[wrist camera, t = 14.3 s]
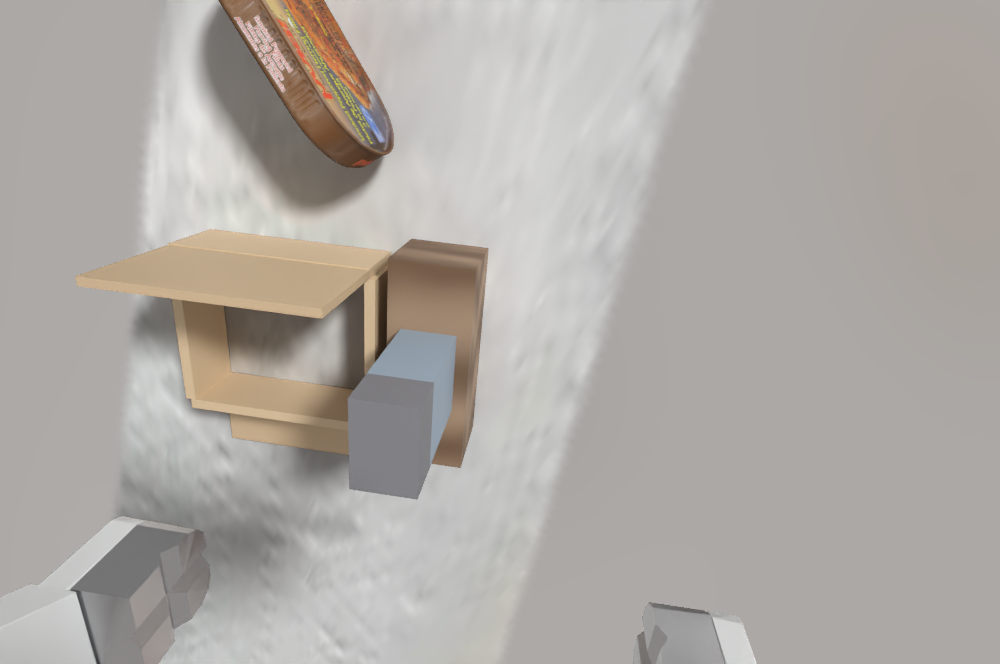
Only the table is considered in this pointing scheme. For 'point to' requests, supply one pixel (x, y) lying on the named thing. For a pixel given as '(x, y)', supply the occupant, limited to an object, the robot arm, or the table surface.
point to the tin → (316, 76)
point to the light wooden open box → (266, 287)
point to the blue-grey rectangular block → (401, 414)
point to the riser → (443, 320)
